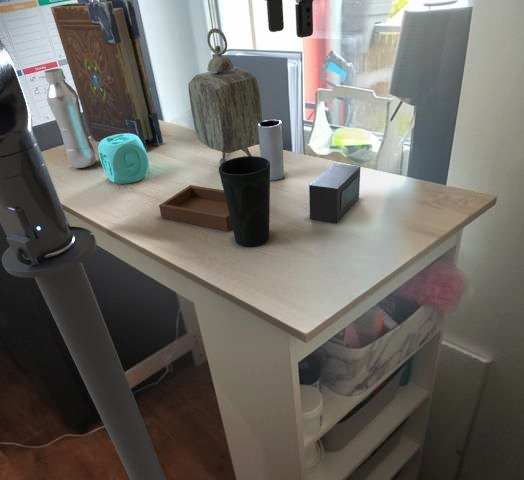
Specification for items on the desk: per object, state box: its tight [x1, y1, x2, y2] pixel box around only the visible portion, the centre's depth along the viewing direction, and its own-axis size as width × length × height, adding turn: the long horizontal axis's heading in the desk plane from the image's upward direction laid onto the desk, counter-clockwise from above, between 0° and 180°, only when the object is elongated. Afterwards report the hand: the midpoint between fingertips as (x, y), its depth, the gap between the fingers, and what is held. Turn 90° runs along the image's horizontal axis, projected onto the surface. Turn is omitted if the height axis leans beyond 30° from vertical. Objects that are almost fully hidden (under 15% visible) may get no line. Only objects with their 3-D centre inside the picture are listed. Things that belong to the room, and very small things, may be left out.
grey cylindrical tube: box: [258, 119, 285, 181], centre depth 94 cm, size 4×4×10 cm
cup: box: [218, 155, 271, 248], centre depth 74 cm, size 8×8×12 cm
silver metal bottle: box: [43, 68, 97, 169], centre depth 106 cm, size 6×7×20 cm
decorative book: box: [50, 0, 164, 152], centre depth 114 cm, size 23×7×30 cm, turn 50°
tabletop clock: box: [188, 27, 263, 165], centre depth 97 cm, size 14×9×25 cm, turn 34°
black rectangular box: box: [308, 163, 361, 225], centre depth 81 cm, size 10×5×6 cm, turn 150°
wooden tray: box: [158, 184, 233, 232], centre depth 86 cm, size 10×15×2 cm, turn 60°
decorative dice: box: [97, 133, 150, 185], centre depth 101 cm, size 8×8×8 cm
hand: (290, 33), depth 67 cm, fingers open, 8 cm apart
